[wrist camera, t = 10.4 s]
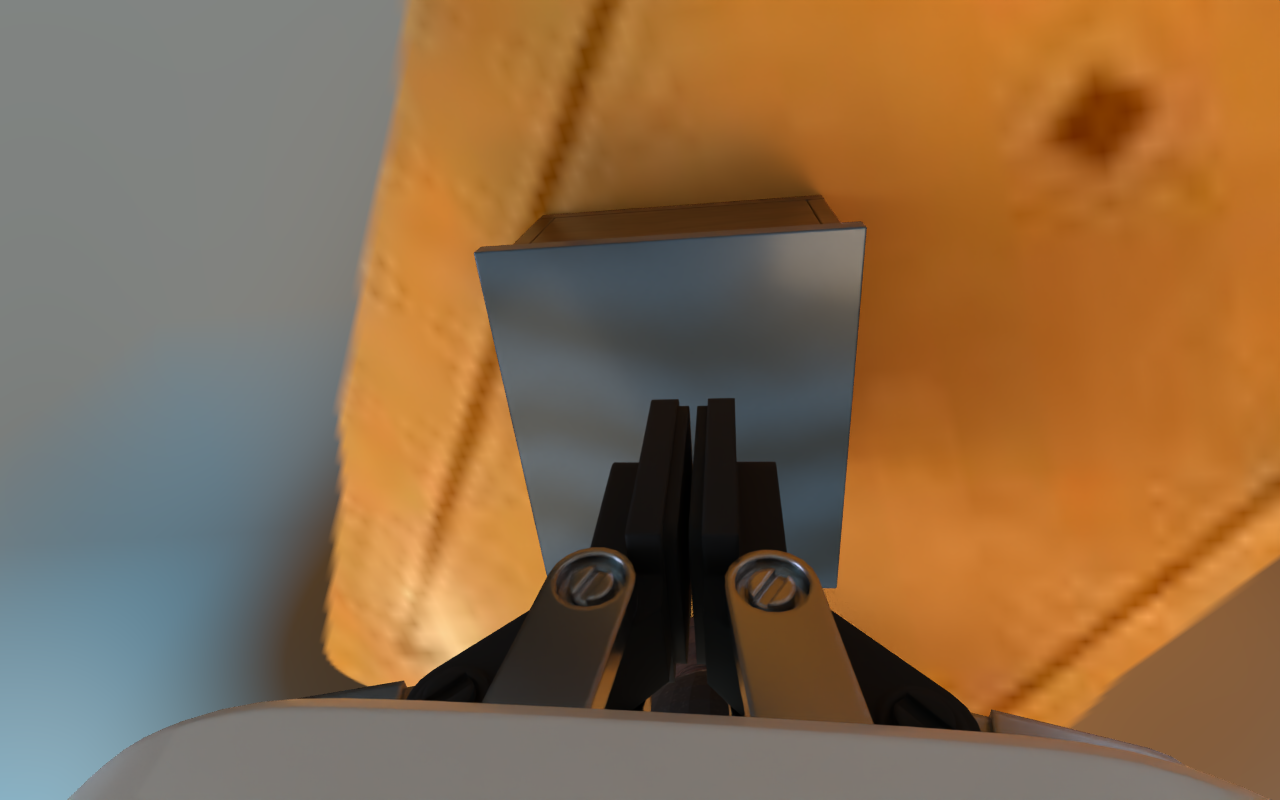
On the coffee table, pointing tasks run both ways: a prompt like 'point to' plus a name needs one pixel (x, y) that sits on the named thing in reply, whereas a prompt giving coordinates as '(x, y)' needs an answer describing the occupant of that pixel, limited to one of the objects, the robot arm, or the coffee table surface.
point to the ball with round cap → (689, 689)
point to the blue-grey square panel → (680, 363)
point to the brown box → (681, 219)
